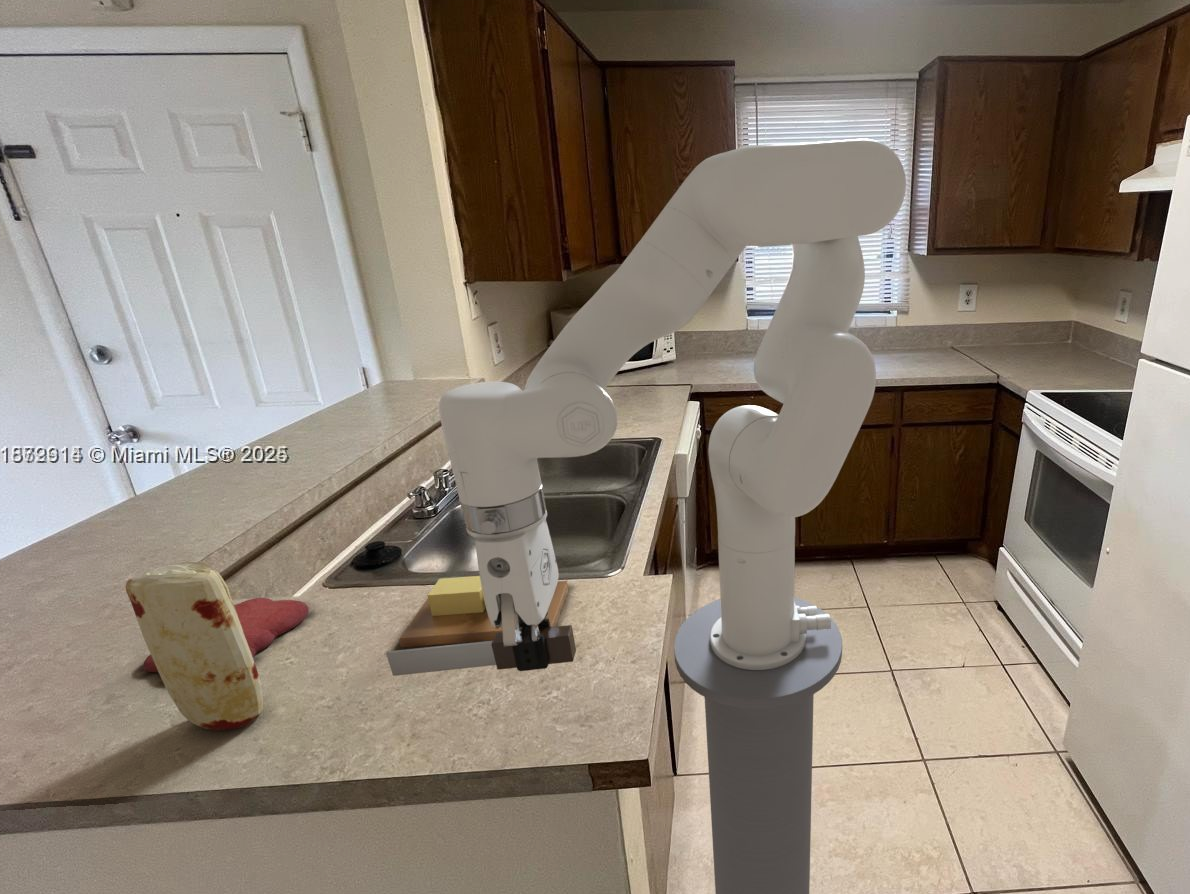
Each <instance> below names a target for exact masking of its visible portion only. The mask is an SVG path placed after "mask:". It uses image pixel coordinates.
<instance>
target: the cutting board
mask: <svg viewBox="0 0 1190 894" xmlns="http://www.w3.org/2000/svg"><path fill="white" fill-rule="evenodd" d="M569 589H570V588H569V580H561V581H560V580H558V583H557V586H556V589H555V592H554V595H553V597H552V600H551V603H550V605H549V608H548V616H547V618H544V619H549V621H550V626H551V627H557V624H558V622H559V619H560V617H561V613H562V610H563V608H564V605H565V600H566V598H567V596H568V593H569ZM499 632H503V631H502V625H501V627H500V628H498V629H496V628H494V627H493V626H492V624H491V622H490V620H489V617H488V613H487V610H486V608H485V610H484V612H482V613H468V614H455V615H441V616H432V613H431V609H430V604H429V600H428V598H427V599H426V600H425V602H423V605H422V606H421V607H420V608H419V610H418V611H417V613H416V614H415V616H414V617H413V618H412V620H411V621H410V623H409V624H408V625H407V626H406V628H405V629H404V631H403V633H402V634H401V635H400V636H399V638H398V641H399V644H400V648H414V647H428V646H441V645H453V644H466V643H476V642H485V641H493V639H494V637H495V635H496V633H499Z"/></svg>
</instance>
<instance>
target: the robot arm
mask: <svg viewBox="0 0 1190 894" xmlns="http://www.w3.org/2000/svg"><path fill="white" fill-rule="evenodd" d="M906 190H907V178H906V172H905V168H904V166H903V163H902V161H901V159H900V158H899V156H898V155H897V154H896V152H895V151H894V150H893V149H892V148H890V147H889V146H888V145H886V144H885V143H883V142H881V141H878V140H874V139H872V138H870V139H869V138H856V139H855V138H854V139H843V140H841V139H840V140H829V141H827V140H826V141H817V142H815V141H814V142H799V143H778V144H775V143H774V144H756V145H748V146H742V147H738V148H736V149H731V150H728V151H725V152H721V153H718V154H715V155H712V156H709V157H707V158H705V159H704V160H702V161H701V162H700V163H699V164H698V165H696V166H695V168H693V170H691V171H690V173H689V174H688V176H687V177H686V178H685V179H684V180H683V182H682V183H681V185H680V186H679V187H678V188H677V190H676V192H675V193H674V194H673V195H672V197H671V198H670V199H669V200H668V202H667V203H666V204H665V206H664V207H663V209H662V210H661V211H660V213H659V214H658V216H657V217H656V218H655V220H654V221H653V222H652V223H651V225H650V227H649V228H648V229H647V230H646V232H645V233H644V235H643V236H642V237H641V239H640V240H639V241H638V242H637V243H636V245H635V246H634V248H632V250H631V252H630V253H629V254H628V255H627V257H626V258H625V259H624V261H623V262H622V263H621V264H620V266H619V267H618V268H617V270H616V271H615V272H613V274H612V275H611V276H610V277H609V278H608V279H606V281H605V282H604V283H603V284H602V285H601V286H600V288H598V290H597V291H596V292H595V293H594V294H593V295H592V297H590V298H589V300H587V302H586V303H585V304H584V305H583V306H582V307H581V308H579V310H578V311H577V312H576V313H575V314H574V315H573V317H571V319H570V320H569V321H568V322H567V324H566V325H565V326H564V327H563V329H562V330H561V331H560V332H559V334H558V335H557V336H556V338H555V339H554V340H553V341H552V343H551V344H550V346H549V347H548V348H547V350H546V351H545V352H544V353H543V355H542V356H541V358H540V359H539V360H538V362H537V363H536V365H535V366H534V367H533V369H532V371H531V372H530V374H529V375H528V378H527V381H526V382H525V386H524V389H521V387H520V386H518V385H516V384H514V383H512V382H506V381H482V382H474V383H468V384H464V385H460V386H457V387H453V388H452V389H450V390H447V391H446V392H445V393H444V394H443V395H442V396H441V397H440V399H439V402H438V414H439V419H440V423H441V427H442V432H443V436H444V440H445V444H446V449H447V453H448V458H449V462H450V466H451V470H452V475H453V478H454V482H455V487H456V491H457V495H458V498H459V504H460V508H461V512H462V516H463V520H464V521H463V522H464V525H465V529H466V532H467V534H468V535H469V536H471V537H473V538H474V542H475V551H476V559H477V567H478V575H479V576H480V580H481V586H482V591H483V596H484V601H485V606H486V610H487V613H488V617H489V620H490V622H491V624H492V626H493V627H494V628H496V629H498V628H500V627H501V625H502V631H503V644H504V646H512V648H513V653H514V657H515V662H516V666H517V668H516V670H517V671H518V672H527V671H536V670H545V669H548V667H549V665H550V664H549V661H548V656H547V651H546V646H545V641H544V636H543V635H540V633H539V628H548V627H551V626H550V621H549V619H544V618H547V616H548V608H549V605H550V603H551V600H552V597H553V595H554V592H555V589H556V586H557V583H558V581H559V578H560V577H559V576H560V573H559V568H558V567H559V566H558V563H557V559H556V554H555V551H554V545H553V542H552V538H551V537H552V536H551V533H550V529H549V526H548V523H547V517H548V512H547V510H548V509H547V505H546V499H545V494H544V489H543V488H544V487H543V483H542V479H541V474H540V473H541V472H540V467H539V462H538V459H548V458H549V459H554V458H555V459H557V458H577V457H583V456H587V455H591V454H593V453H596V452H599V451H600V450H601V449H603V448H604V447H606V446H607V444H609V443H610V442H611V440H612V439H613V437H614V435H615V433H616V431H617V428H618V420H619V419H618V411H617V408H616V405H615V403H614V401H613V399H612V398H611V396H610V395H609V394H608V393H607V392H606V391H605V389H606V388H607V387H608V385H609V384H610V383H611V382H612V380H613V379H614V378H615V376H616V375H617V374H618V372H619V371H621V369H622V368H623V367H624V365H625V364H626V363H627V362H628V361H630V359H631V358H632V357H633V356H634V355H635V354H636V353H638V352H639V351H640V350H642V349H643V348H644V347H646V346H648V345H649V344H651V343H653V342H656V341H657V340H660V339H662V338H664V337H667V336H669V335H671V334H673V333H675V332H677V331H679V330H680V329H682V328H684V327H685V326H687V325H688V324H689V323H691V322H692V320H693V319H694V318H695V317H696V315H698V313H699V311H700V310H701V308H702V307H703V305H705V303H706V301H707V300H708V299H709V297H710V296H711V294H713V292H714V290H715V289H716V288H717V287H718V285H719V284H720V282H721V281H722V279H723V278H724V277H725V275H726V274H727V273H728V271H729V270H730V268H731V267H732V266H733V265H734V263H736V261H737V259H738V258H739V257H740V255H741V254H742V253H743V252H744V250H745V248H747V247H752V248H753V247H755V248H763V247H764V248H765V247H767V248H768V247H780V246H781V247H782V246H791V248H792V250H791V251H792V263H791V265H792V266H791V269H790V273H789V276H788V280H787V283H786V284H785V287H784V289H783V293H782V295H781V298H780V300H779V302H778V304H777V306H776V309H775V311H774V314H773V315H772V317H771V321H770V322H769V325H768V327H767V329H766V331H765V334H764V336H763V338H762V340H761V342H760V345H759V347H758V350H757V352H756V355H755V358H754V362H753V376H754V379H755V382H756V383H757V386H758V387H759V388H760V389H761V391H762V392H763V393H765V395H767V396H769V397H771V398H772V399H774V400H776V401H777V402H779V403H781V404H783V405H782V407H781V409H780V412H779V413H776V412H774V411H773V410H771V409H768V408H765V407H763V406H759V405H751V404H747V405H740V406H736V407H734V408H731V409H729V410H727V411H726V412H725V413H723V414H722V415H721V416H720V417H719V418H718V420H716V422H715V424H714V425H713V428H712V430H711V432H710V435H709V440H708V449H707V450H708V463H709V471H710V476H711V480H712V486H713V493H714V497H715V506H716V518H717V520H716V522H717V546H718V572H719V593H720V594H719V595H720V598H719V599H721V618H719V619H718V620H717V621H716V623H715V624H714V625H713V627H712V629H711V634H710V642H711V647H712V650H713V651H714V653H715V654H716V655H717V656H718V657H719V658H720V659H721V660H722V661H724V662H726V663H727V664H729V665H732V666H734V667H737V668H741V669H747V670H767V669H773V668H777V667H780V666H783V665H785V664H787V663H789V662H791V661H792V660H794V659H795V658H796V657H797V656H798V655H799V654H800V653H801V652H802V650H803V649H804V647H805V643H806V633H807V630H815V629H816V630H823V629H830V628H831V620H830V618H831V616H830V614H829V613H826V614H821V615H818V612H817V607H818V606H817V605H815V606H809V607H802V608H800V607H799V606H796V604H795V601H794V597H795V580H796V579H795V578H796V577H795V567H796V566H795V565H796V564H795V563H796V561H795V560H796V556H795V555H796V554H795V553H796V551H795V550H796V518H798V517H801V516H804V515H806V514H808V513H810V512H811V511H813V510H814V509H816V507H818V506H819V505H820V504H821V503H822V502H823V500H824V499H825V498H826V497H827V495H828V494H829V492H830V490H831V489H832V488H833V485H834V483H835V482H836V480H837V479H838V476H839V474H840V472H841V469H842V467H843V465H844V463H845V462H846V459H847V457H848V454H849V452H850V450H851V448H852V447H853V444H854V442H855V440H856V438H857V435H858V433H859V431H860V429H861V427H862V425H863V423H864V421H865V418H866V416H867V414H868V411H869V409H870V407H871V404H872V402H873V399H874V395H875V390H876V382H877V369H876V363H875V360H874V357H873V354H872V352H871V350H870V349H869V348H868V346H867V344H865V343H864V342H863V341H862V340H861V339H860V338H858V337H857V336H855V335H853V334H851V333H850V332H849V330H850V328H851V325H852V323H853V321H854V318H855V315H856V312H857V310H858V307H859V305H860V302H861V299H862V296H863V293H864V288H865V282H866V281H865V280H866V279H865V277H866V271H865V270H866V269H865V260H864V255H863V250H862V246H861V243H860V240H859V237H863V236H868V235H872V234H875V233H877V232H878V231H881V230H883V229H884V228H885V227H886V226H888V225H889V224H890V223H891V222H892V221H893V220H894V219H895V218H896V216H897V214H898V213H899V212H900V210H901V208H902V205H903V204H904V199H905V196H906V193H907V192H906Z"/></svg>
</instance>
